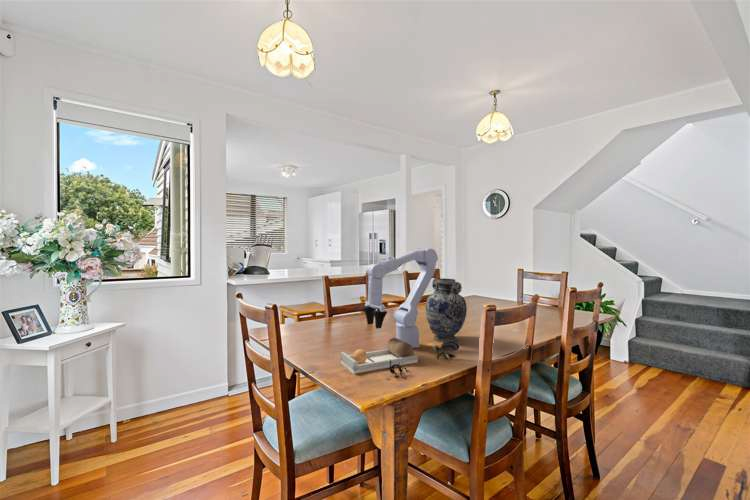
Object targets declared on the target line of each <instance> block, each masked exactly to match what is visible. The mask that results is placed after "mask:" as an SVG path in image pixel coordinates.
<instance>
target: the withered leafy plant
mask: <svg viewBox="0 0 750 500" xmlns="http://www.w3.org/2000/svg"><path fill="white" fill-rule="evenodd" d="M460 347H461V346H460V345H459V344H458V342H457V341H456V342H452V341H450V342H442V344H441V346H440V347H439V346H438V345H437V344H435V345H433V346H432V349H433V351H435V352H434V354H435V355H436V360H439V359H440V358H441V356H444V357H446V358H447V359H448V360H450V356H454V357H456V356H455V354H452V353H451V352H455V351H458V350H459V349H460ZM449 355H450V356H449Z"/></svg>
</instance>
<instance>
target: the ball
mask: <svg viewBox="0 0 750 500" xmlns="http://www.w3.org/2000/svg"><path fill="white" fill-rule="evenodd" d="M366 352H367V351H365V350H364V349H362V348H361V349H359V348H358V349H356V350H355V351H354V352H353V354H354V355H353V354H352V355H353V358H354V360H355V361H356V362H357V363H359V364H361V363H364V362H365V361H366V359H367V353H366Z"/></svg>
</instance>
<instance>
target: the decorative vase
mask: <svg viewBox="0 0 750 500" xmlns="http://www.w3.org/2000/svg"><path fill="white" fill-rule="evenodd" d="M431 284H432V286H431V287H432V288H433V289H434V291H433V292H432V293H431V294H430V295H428V297H427V299H426V302H425V316H426V320H427V323H428V325H429V329H430V331H431V333H432V334H433V335H434V336H433V339H434V340H435V341H437V342H439V343H446V342H450V341H452V342H456V343H457V341H458V338H457V336H455V335H456V334H458V333H460V331H461V329H462V327H463V326H464V323H465V321H466V318H467V310H468V309H467V308H468V307H467V302H466V299H465V298H464V297H463V295H461V294H460V293H461V292H462V289H463V288H462V284H461V283H460V282H459V281H456V279H454V278H434V279H433V278H432V283H431Z"/></svg>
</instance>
